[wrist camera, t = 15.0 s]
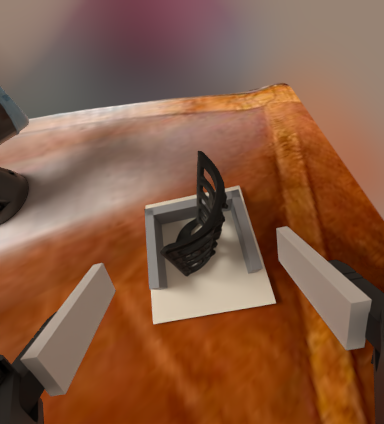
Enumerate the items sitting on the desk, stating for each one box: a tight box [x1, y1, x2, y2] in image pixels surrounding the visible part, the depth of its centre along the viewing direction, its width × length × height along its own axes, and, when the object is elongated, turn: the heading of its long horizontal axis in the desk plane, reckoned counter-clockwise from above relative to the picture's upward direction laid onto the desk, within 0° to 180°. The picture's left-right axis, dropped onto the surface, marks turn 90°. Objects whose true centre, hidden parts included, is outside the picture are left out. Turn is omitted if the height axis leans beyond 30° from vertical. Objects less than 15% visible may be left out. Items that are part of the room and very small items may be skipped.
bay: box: [145, 186, 276, 324], centre depth 33 cm, size 22×20×6 cm
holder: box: [160, 151, 228, 277], centre depth 26 cm, size 11×8×20 cm
